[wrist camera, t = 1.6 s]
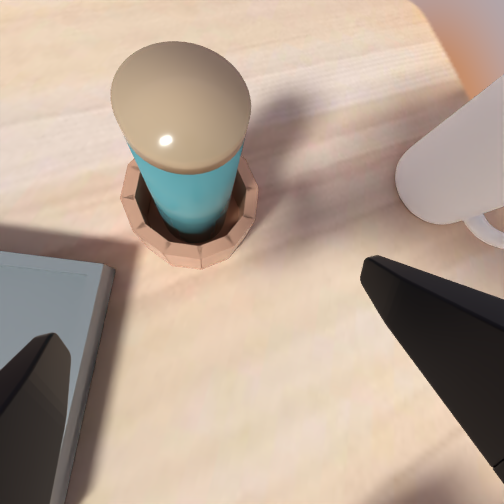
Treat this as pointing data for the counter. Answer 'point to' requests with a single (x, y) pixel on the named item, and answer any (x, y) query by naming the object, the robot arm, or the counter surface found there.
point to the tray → (56, 328)
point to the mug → (459, 167)
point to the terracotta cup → (179, 252)
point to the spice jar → (184, 131)
